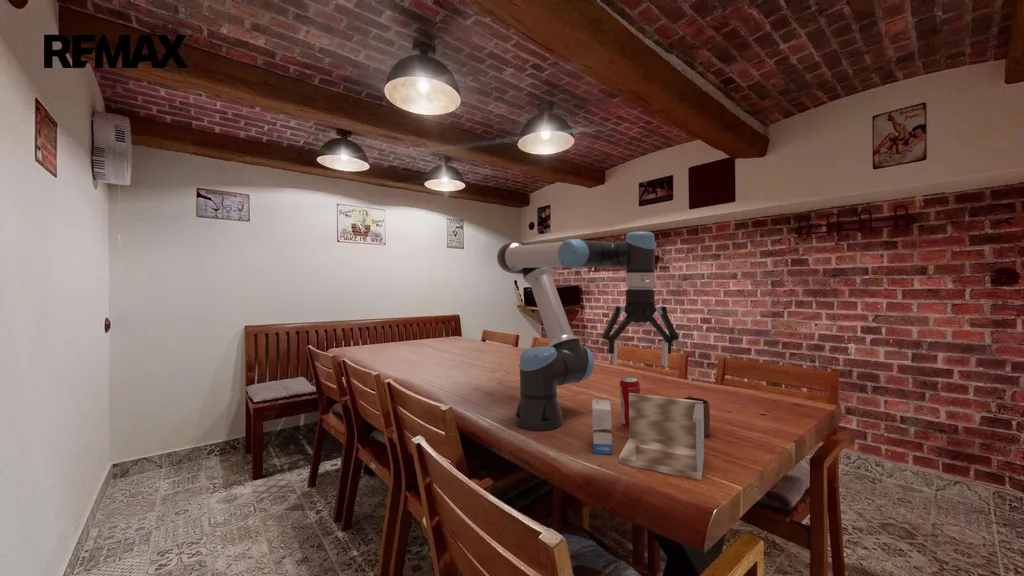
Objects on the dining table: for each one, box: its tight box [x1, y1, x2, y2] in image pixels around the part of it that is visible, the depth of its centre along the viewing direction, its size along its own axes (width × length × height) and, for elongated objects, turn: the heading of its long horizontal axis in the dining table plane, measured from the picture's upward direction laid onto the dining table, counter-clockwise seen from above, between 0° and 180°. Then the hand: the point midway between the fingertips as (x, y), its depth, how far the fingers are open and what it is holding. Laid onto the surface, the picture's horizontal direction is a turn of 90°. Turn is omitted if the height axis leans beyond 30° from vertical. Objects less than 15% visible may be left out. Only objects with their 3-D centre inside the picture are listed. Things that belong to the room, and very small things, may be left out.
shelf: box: [618, 393, 703, 481], centre depth 94 cm, size 18×14×14 cm
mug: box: [681, 395, 711, 438], centre depth 112 cm, size 12×8×9 cm, turn 166°
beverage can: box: [619, 376, 641, 431], centre depth 115 cm, size 6×6×15 cm
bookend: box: [693, 403, 705, 473], centre depth 90 cm, size 2×12×12 cm, turn 152°
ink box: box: [591, 398, 613, 455], centre depth 101 cm, size 9×5×12 cm, turn 168°
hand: (639, 365), depth 105 cm, fingers open, 13 cm apart
